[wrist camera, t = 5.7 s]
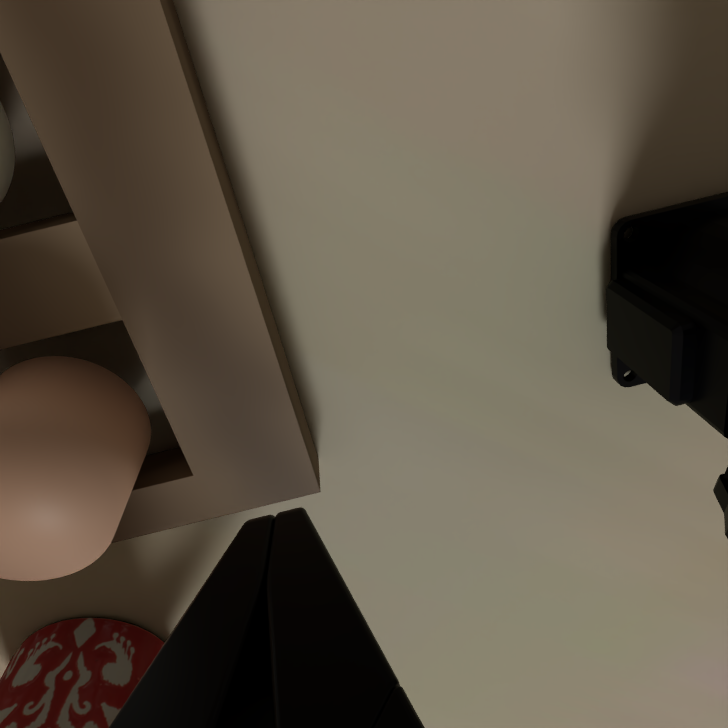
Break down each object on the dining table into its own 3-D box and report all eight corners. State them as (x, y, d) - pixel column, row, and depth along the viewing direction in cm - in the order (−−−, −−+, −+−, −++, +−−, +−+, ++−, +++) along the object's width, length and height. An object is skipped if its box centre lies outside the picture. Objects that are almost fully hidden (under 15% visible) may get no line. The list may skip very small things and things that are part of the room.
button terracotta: (112, 338, 17) (65, 408, 13) (174, 467, 19) (146, 556, 16) (-49, 378, 17) (-140, 457, 13) (31, 502, 19) (-28, 598, 16)
